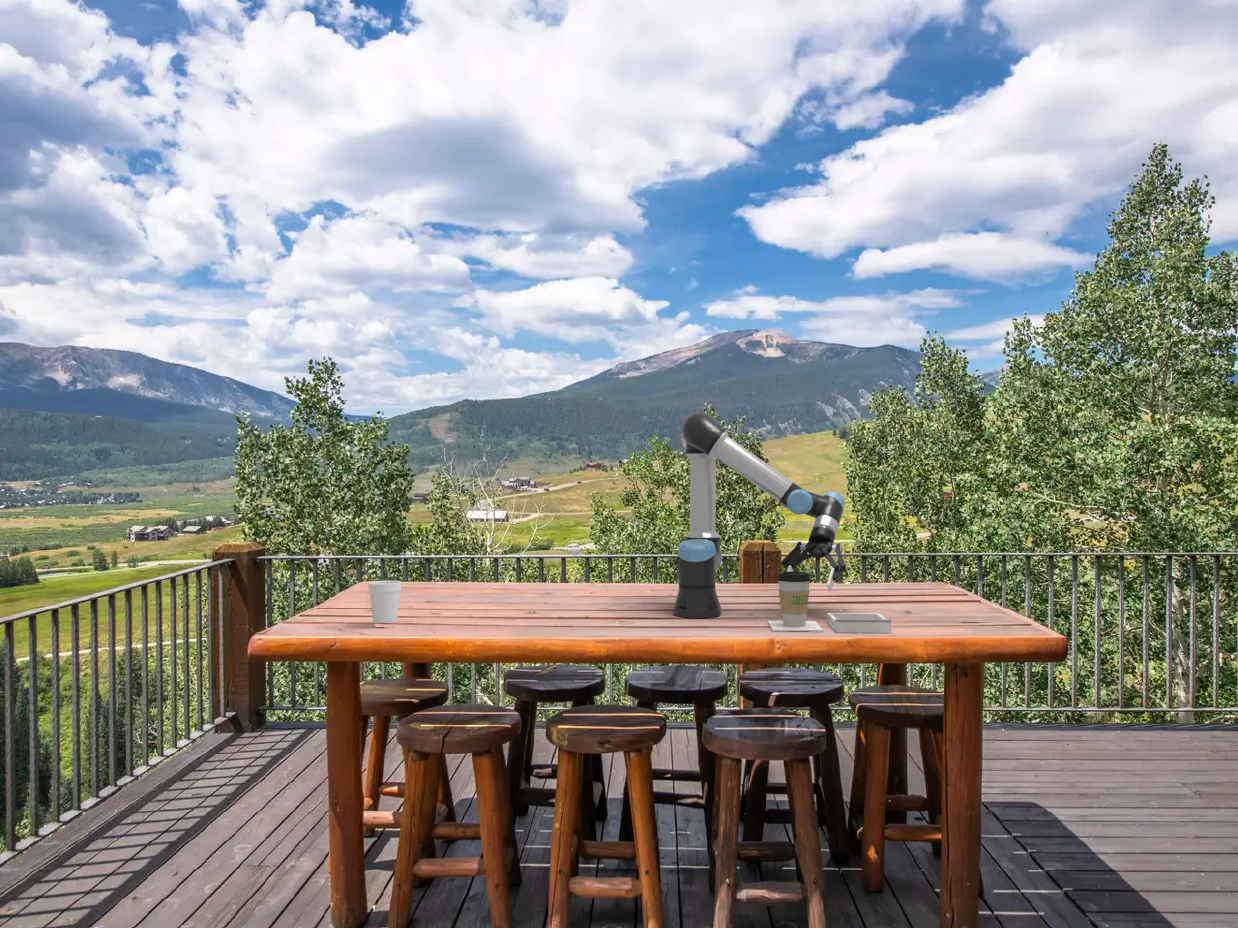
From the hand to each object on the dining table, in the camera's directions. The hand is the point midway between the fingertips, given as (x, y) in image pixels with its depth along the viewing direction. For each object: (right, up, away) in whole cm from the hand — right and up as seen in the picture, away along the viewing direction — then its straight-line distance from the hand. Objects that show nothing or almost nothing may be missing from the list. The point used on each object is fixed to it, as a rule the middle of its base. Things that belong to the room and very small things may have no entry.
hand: (806, 586), depth 244 cm
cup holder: (+12, -10, -11) cm, 19 cm away
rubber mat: (-6, -10, -9) cm, 15 cm away
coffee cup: (-6, -10, -9) cm, 15 cm away
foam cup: (-126, -12, -2) cm, 127 cm away
